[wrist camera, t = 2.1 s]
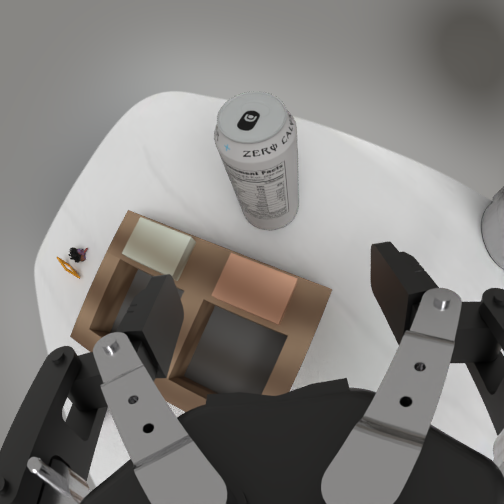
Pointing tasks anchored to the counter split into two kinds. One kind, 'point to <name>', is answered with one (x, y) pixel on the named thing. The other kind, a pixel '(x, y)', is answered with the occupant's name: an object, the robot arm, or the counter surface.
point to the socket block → (208, 312)
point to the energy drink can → (260, 157)
